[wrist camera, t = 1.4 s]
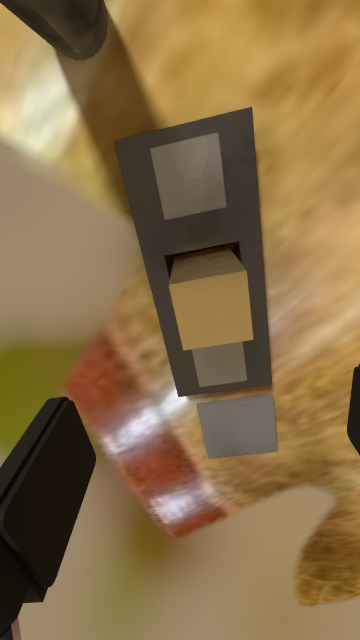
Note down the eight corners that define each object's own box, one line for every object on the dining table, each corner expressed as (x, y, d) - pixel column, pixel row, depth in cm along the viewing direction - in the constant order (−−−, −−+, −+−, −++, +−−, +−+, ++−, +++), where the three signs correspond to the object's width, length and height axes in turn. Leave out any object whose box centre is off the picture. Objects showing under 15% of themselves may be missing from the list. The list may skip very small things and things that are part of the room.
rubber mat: (271, 393, 32) (273, 397, 31) (275, 447, 36) (277, 451, 35) (196, 403, 33) (197, 407, 32) (208, 454, 37) (208, 458, 36)
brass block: (227, 245, 25) (246, 270, 17) (234, 296, 27) (253, 339, 19) (175, 256, 26) (168, 284, 17) (184, 304, 28) (183, 350, 19)
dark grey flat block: (245, 116, 21) (252, 106, 19) (265, 370, 31) (272, 384, 28) (121, 146, 22) (113, 140, 20) (179, 382, 32) (178, 397, 29)
